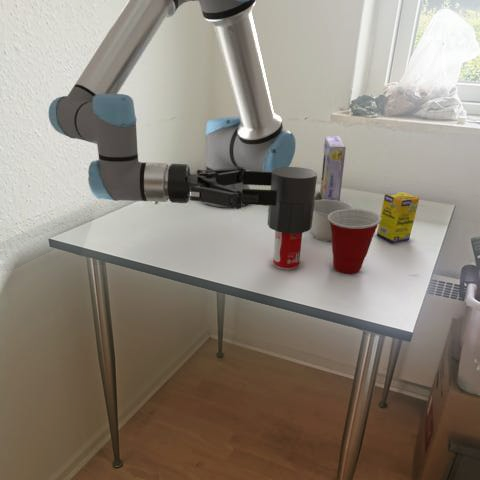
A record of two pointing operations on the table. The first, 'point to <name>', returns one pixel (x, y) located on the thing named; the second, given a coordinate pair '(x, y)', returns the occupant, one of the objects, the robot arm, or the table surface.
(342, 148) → the cake pan box
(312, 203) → the dark grey cup
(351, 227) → the plastic cup
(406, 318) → the table surface
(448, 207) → the table surface
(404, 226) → the supplement box
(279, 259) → the beverage can
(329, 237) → the teacup
